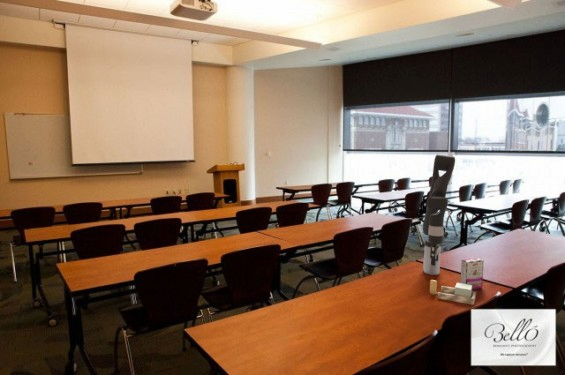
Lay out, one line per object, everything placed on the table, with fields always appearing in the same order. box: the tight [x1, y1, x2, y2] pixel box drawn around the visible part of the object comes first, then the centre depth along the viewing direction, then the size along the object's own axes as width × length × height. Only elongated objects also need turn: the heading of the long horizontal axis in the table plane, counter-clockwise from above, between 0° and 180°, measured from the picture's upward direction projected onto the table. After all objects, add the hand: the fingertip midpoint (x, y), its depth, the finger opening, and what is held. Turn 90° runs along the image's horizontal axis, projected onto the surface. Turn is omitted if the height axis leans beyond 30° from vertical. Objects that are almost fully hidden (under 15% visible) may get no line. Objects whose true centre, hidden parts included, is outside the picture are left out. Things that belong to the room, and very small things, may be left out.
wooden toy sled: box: [437, 285, 477, 306], centre depth 216 cm, size 17×11×3 cm, turn 60°
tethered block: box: [429, 279, 473, 298], centre depth 217 cm, size 20×8×7 cm, turn 60°
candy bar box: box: [460, 257, 484, 291], centre depth 228 cm, size 11×5×16 cm, turn 105°
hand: (434, 263), depth 219 cm, fingers open, 8 cm apart
